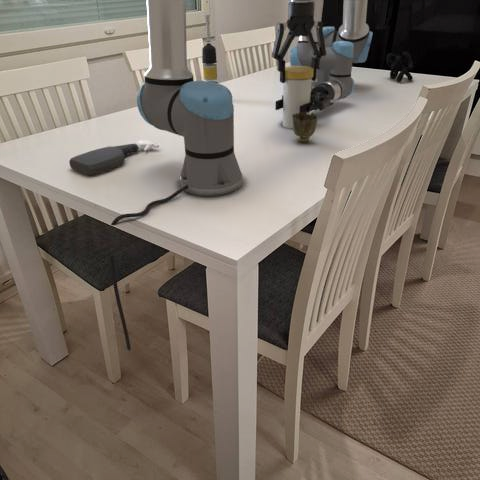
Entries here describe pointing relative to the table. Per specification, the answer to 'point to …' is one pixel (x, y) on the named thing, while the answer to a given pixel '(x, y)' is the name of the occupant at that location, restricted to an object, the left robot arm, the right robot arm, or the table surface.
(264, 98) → the table surface
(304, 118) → the cup
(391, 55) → the squiggle
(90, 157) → the spray bottle
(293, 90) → the jar
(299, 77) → the lid
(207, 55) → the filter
